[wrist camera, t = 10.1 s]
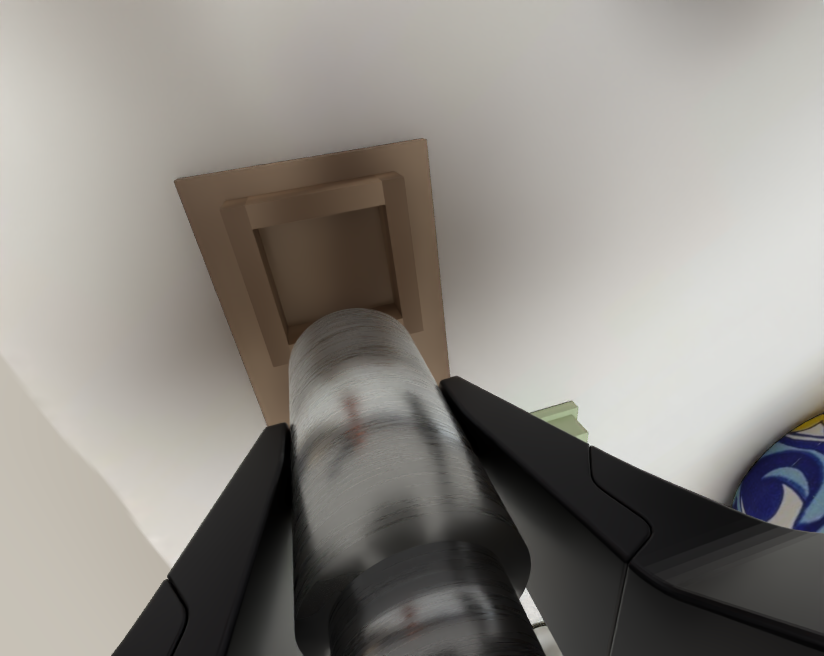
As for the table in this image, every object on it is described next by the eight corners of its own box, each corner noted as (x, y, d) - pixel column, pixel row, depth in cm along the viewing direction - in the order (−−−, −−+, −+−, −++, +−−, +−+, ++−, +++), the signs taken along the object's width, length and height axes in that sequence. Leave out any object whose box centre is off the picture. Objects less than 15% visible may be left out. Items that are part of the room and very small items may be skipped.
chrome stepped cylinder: (406, 294, 10) (615, 612, 4) (422, 398, 12) (589, 749, 5) (272, 326, 10) (251, 757, 3) (307, 431, 11) (338, 862, 5)
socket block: (422, 138, 17) (440, 142, 15) (454, 454, 25) (468, 483, 23) (177, 178, 15) (162, 189, 13) (299, 501, 23) (300, 535, 21)
